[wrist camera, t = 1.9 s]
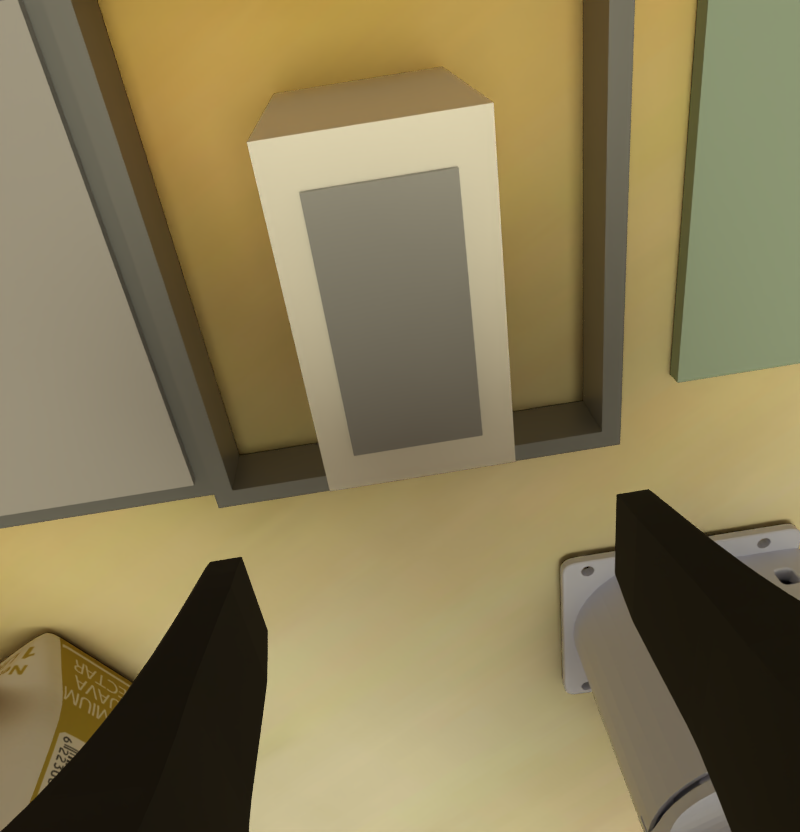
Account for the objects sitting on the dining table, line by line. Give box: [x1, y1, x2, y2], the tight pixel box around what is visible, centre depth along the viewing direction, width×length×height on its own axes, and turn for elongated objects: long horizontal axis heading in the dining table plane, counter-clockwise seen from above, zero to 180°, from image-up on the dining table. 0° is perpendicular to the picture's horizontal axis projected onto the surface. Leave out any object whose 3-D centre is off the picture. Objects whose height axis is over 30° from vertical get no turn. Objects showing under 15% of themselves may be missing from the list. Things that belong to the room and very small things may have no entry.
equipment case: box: [0, 0, 635, 528], centre depth 20 cm, size 23×16×2 cm
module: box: [247, 67, 516, 491], centre depth 18 cm, size 4×8×7 cm, turn 8°
